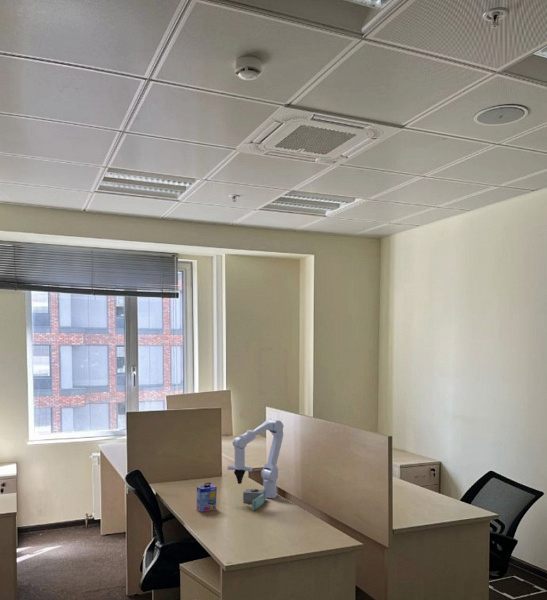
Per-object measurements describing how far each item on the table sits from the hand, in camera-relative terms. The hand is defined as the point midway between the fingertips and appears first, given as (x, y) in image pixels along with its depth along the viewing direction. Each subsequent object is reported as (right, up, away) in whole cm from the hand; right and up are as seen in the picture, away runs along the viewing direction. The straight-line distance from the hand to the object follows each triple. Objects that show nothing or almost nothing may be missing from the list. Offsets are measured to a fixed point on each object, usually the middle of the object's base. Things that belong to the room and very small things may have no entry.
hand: (239, 483), depth 331 cm
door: (+11, -9, -11) cm, 18 cm away
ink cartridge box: (-17, -10, -15) cm, 24 cm away
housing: (+8, -11, +2) cm, 13 cm away
